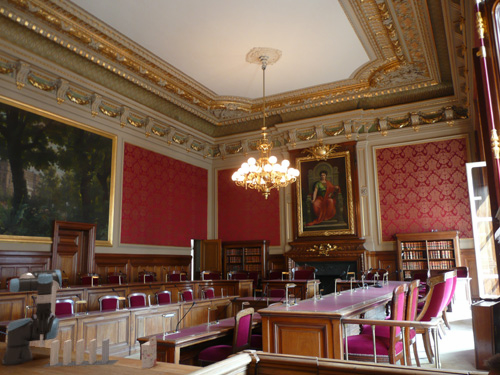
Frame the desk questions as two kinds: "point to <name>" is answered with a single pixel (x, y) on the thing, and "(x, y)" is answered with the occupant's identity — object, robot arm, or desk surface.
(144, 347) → the ink cartridge box
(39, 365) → the desk surface
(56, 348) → the domino
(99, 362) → the runway mat
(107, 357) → the slate domino
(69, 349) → the domino
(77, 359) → the domino
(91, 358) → the domino
